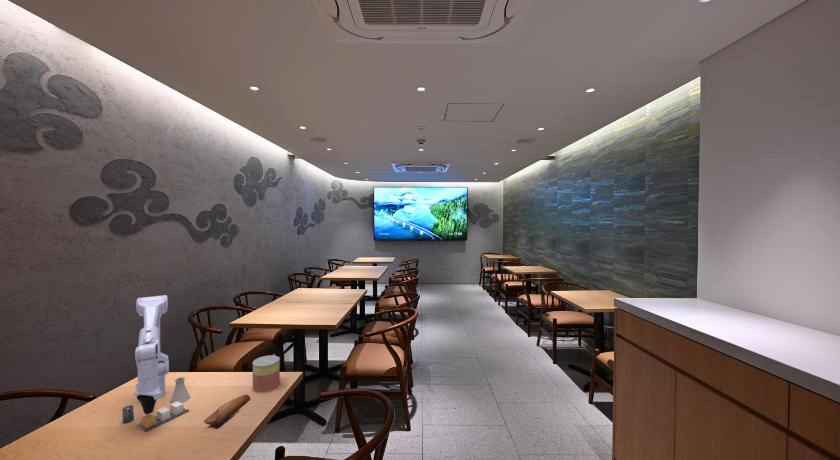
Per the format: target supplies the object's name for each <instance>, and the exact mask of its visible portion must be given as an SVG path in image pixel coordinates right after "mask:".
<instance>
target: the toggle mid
mask: <svg viewBox="0 0 840 460" xmlns="http://www.w3.org/2000/svg"><path fill="white" fill-rule="evenodd" d="M156 416H157V419H159V420H161V421H164V420H166V419H168V418H170V409H168V408H167V407H165V406H164V407H162V408H159V409H157V410H156Z"/></svg>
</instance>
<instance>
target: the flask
mask: <svg viewBox="0 0 840 460" xmlns="http://www.w3.org/2000/svg"><path fill="white" fill-rule="evenodd" d="M185 379H186V377H184V376H181V377H178V378H177V377H176V378H175V379H174V382H175V386H174V390H173V393H172V395H171V398H170V400H169V404H173V403H175V402H177V401H178V402H180V403H182V404H184V403H186V402H188V401H189V400H190V399H191V396H190V393H189V391H188V389H187V388H186V385H185Z"/></svg>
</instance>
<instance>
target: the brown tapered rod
mask: <svg viewBox="0 0 840 460" xmlns="http://www.w3.org/2000/svg"><path fill="white" fill-rule="evenodd" d="M250 401H251V396H250V395H249V394H242V395H239V396H237V397H235V398H233V399H231V400H229V401H227V402H225V403H224V404H223V405H221V406H218V408H217V409H216V410H215V411H214V412H213V413H211V414H210V415H209V416H208V417H206V418H205V419H204V420H203V423H205V424H206V425H208V426H207V428H211V429H216V430H217V429H218V428H219V427H220V426H221V425H223V424H224V423H225V422H226V421H227V420H228V419H229V418H231V416H233V415H234V414H235V413H237V412H238V410H239V409H241V408H242V407H243V406H245V405H246V404H247V403H248V402H250Z"/></svg>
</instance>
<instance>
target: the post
mask: <svg viewBox="0 0 840 460" xmlns="http://www.w3.org/2000/svg"><path fill="white" fill-rule="evenodd" d="M121 411H122V424H129V423H132V422H133V421H134V415H135V414H134V405H132V404H131V405H126V406H124V407H123V408H122V410H121Z"/></svg>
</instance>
